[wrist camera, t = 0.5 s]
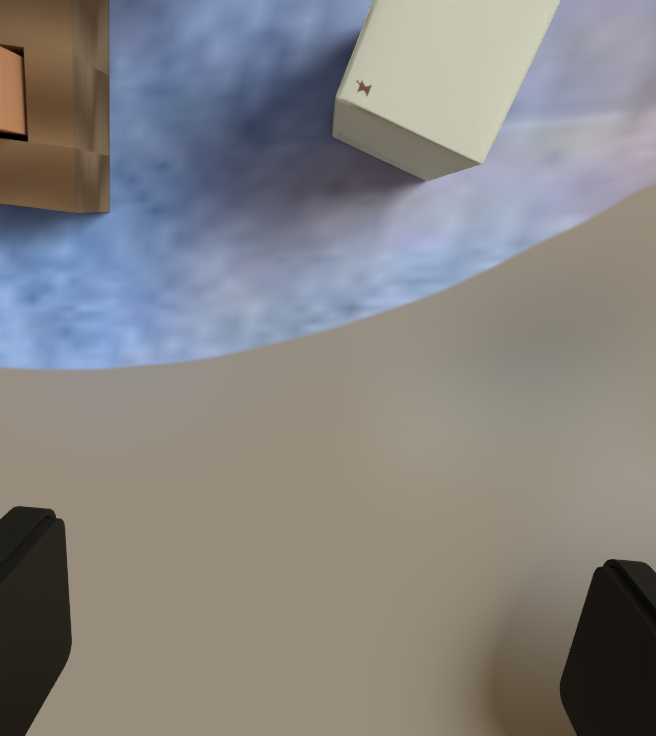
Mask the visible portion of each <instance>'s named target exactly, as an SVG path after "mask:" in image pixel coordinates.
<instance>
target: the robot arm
mask: <svg viewBox="0 0 656 736" xmlns="http://www.w3.org/2000/svg"><path fill="white" fill-rule="evenodd" d="M71 645H72V636H71V620H70V603H69V586H68V571H67V553H66V538H65V525H64V522H63V520H62V519H58V518H56V515H55V513H54V511H53V510H51V509H45V508H34V507H22V506H17V507H14V508H12V509H11V510H10V511H9V512H8V513H7V514H6V515H4V516H3V517H2V518H1V519H0V736H25V735H26V733H27V731H28V729H29V728H30V726H31V724H32V722H33V721H34V719H35V717H36V715H37V714H38V712H39V710H40V708H41V707H42V705H43V703H44V701H45V700H46V698H47V696H48V695H49V693H50V691H51V689H52V688H53V686H54V684H55V682H56V681H57V679H58V677H59V675H60V674H61V672H62V670H63V668H64V667H65V665H66V663H67V660H68V657H69V654H70V650H71ZM560 696H561V700H562V703H563V706H564V708H565V711H566V713H567V715H568V717H569V719H570V721H571V724H572V726H573V728H574V730H575V732H576V734H577V736H656V573H655V572H654V570H653V569H652V568H651V567H650V566H649V565H647V564H646V563H643V562H637V561H627V560H616V559H610V560H607V561H606V562H605V563H604V565H603V567H598V568H597V569H596V570H595V572H594V574H593V577H592V581H591V584H590V587H589V590H588V594H587V597H586V600H585V603H584V606H583V610H582V613H581V616H580V619H579V623H578V626H577V629H576V632H575V636H574V639H573V642H572V645H571V649H570V652H569V655H568V659H567V661H566V665H565V668H564V671H563V674H562V677H561V682H560Z"/></svg>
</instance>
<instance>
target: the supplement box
mask: <svg viewBox="0 0 656 736" xmlns="http://www.w3.org/2000/svg"><path fill="white" fill-rule="evenodd" d="M560 1H561V0H373V1H372V3H371V6H370V8H369V10H368V13H367V15H366V18H365V21H364V24H363V27H362V30H361V32H360V35H359V37H358V40H357V43H356V45H355V48H354V50H353V53H352V56H351V58H350V61H349V63H348V66H347V68H346V71H345V73H344V76H343V79H342V81H341V84H340V86H339V89H338V91H337V94H336V96H335V107H334V119H333V130H332V137H334V138H336V139H338V140H340V141H342V142H344V143H346V144H349V145H351V146H353V147H355V148H357V149H359V150H361V151H363V152H365V153H367V154H370V155H372V156H374V157H376V158H378V159H380V160H382V161H384V162H387V163H389V164H391V165H393V166H395V167H397V168H399V169H401V170H404V171H406V172H408V173H410V174H412V175H414V176H417V177H419V178H421V179H423V180H426V181H430V180H433V179H436V178H439V177H442V176H445V175H448V174H451V173H455V172H458V171H461V170H464V169H467V168H470V167H473V166H477V165H480V164H482V163H483V162H484V160H485V158H486V156H487V154H488V152H489V150H490V148H491V146H492V144H493V142H494V140H495V138H496V136H497V134H498V132H499V130H500V128H501V126H502V123H503V121H504V119H505V117H506V115H507V113H508V111H509V109H510V107H511V105H512V103H513V101H514V98H515V96H516V94H517V92H518V90H519V88H520V86H521V84H522V82H523V80H524V77H525V75H526V73H527V71H528V69H529V67H530V65H531V63H532V61H533V58H534V56H535V54H536V52H537V50H538V48H539V46H540V44H541V42H542V39H543V37H544V35H545V33H546V31H547V29H548V27H549V24H550V22H551V20H552V18H553V16H554V14H555V11H556V9H557V7H558V5H559V3H560Z"/></svg>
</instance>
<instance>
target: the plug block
mask: <svg viewBox="0 0 656 736" xmlns="http://www.w3.org/2000/svg"><path fill="white" fill-rule="evenodd" d="M0 46H1V47H3V48H5V49H7V50H9V51H11V52H13V53H15V54H17V55H19V56H21V57H23V58H24V62H25V84H26V105H27V126H28V142H25V141H17V140H10V139H2V138H0V203H2V204H10V205H18V206H26V207H34V208H42V209H49V210H57V211H65V212H73V213H88V212H110V165H109V0H0Z"/></svg>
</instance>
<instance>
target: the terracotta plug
mask: <svg viewBox="0 0 656 736" xmlns="http://www.w3.org/2000/svg"><path fill="white" fill-rule="evenodd" d="M0 133H8V134H15V135H23V136H28V126H27V105H26V84H25V62H24V58H23V57H21V56H19V55H17V54H15V53H13V52H11V51H9V50H7V49H5V48H3V47H1V46H0Z"/></svg>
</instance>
